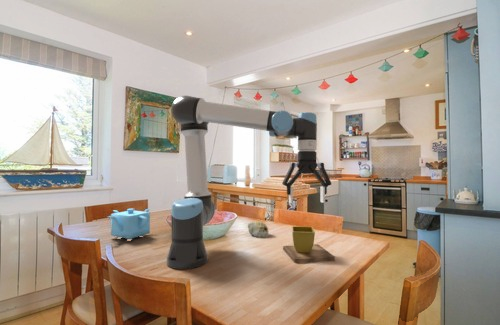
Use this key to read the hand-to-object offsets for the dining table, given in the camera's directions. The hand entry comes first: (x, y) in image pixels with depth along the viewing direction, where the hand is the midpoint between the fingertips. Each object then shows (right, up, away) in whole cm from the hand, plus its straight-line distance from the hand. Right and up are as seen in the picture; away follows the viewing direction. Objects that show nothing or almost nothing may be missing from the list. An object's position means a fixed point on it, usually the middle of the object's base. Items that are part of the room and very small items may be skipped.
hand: (306, 202), depth 109 cm
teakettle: (-85, -22, +26) cm, 91 cm away
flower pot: (-2, -20, 0) cm, 20 cm away
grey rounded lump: (-19, -22, +30) cm, 42 cm away
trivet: (0, -21, 0) cm, 21 cm away
